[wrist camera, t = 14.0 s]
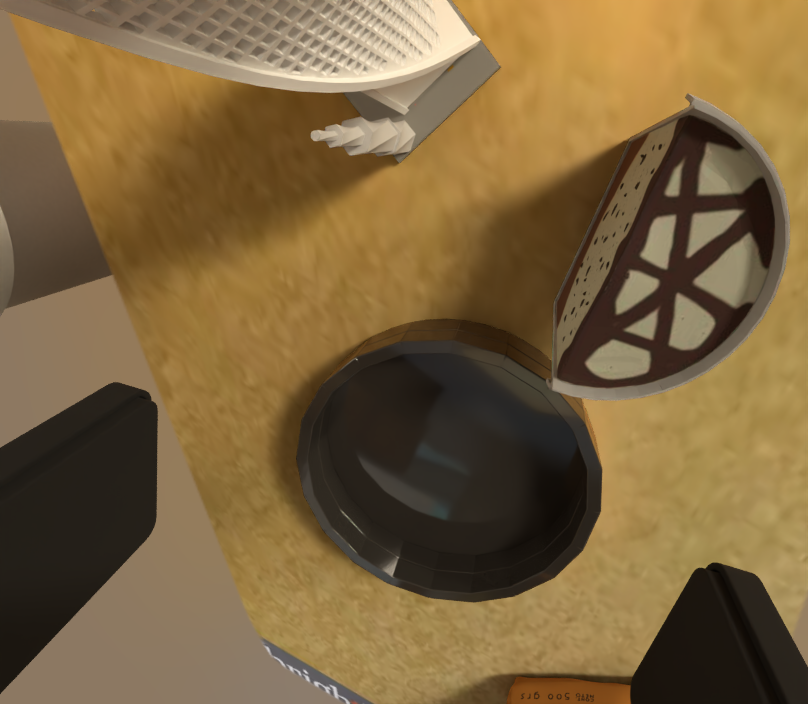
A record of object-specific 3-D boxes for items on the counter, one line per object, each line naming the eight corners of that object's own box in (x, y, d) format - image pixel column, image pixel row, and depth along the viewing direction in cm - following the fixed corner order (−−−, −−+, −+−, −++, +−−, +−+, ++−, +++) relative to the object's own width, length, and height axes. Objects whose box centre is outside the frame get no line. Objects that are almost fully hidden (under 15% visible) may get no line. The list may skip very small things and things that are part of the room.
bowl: (305, 511, 41) (282, 547, 37) (341, 284, 33) (318, 302, 29) (542, 591, 38) (543, 638, 35) (640, 366, 31) (654, 396, 27)
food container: (643, 363, 31) (689, 456, 22) (542, 325, 31) (546, 401, 22) (767, 147, 25) (895, 150, 16) (644, 106, 26) (704, 87, 17)
